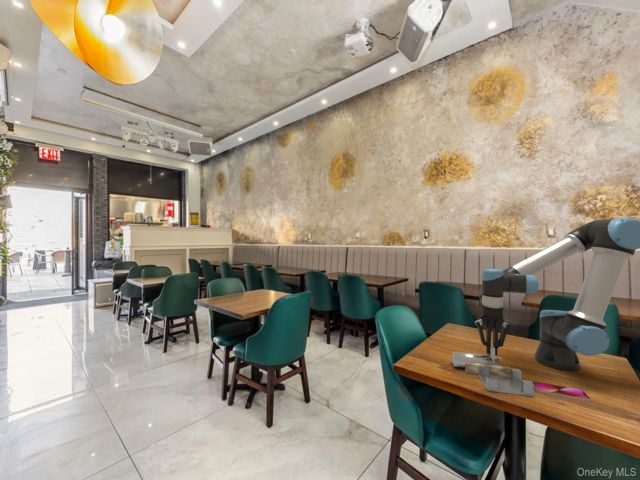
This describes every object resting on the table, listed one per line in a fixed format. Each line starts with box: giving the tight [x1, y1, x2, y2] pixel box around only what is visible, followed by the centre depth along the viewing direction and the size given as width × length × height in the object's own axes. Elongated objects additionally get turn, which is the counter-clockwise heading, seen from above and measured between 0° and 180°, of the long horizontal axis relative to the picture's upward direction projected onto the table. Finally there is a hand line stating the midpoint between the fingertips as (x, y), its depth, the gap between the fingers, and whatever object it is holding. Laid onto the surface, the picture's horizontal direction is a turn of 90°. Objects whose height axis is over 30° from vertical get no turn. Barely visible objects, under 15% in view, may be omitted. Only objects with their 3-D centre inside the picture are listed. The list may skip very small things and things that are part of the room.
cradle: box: [478, 365, 534, 398], centre depth 102 cm, size 14×11×4 cm
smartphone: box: [531, 381, 591, 402], centre depth 98 cm, size 7×1×15 cm
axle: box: [451, 351, 493, 369], centre depth 116 cm, size 14×6×6 cm, turn 75°
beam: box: [463, 356, 511, 377], centre depth 115 cm, size 16×12×4 cm
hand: (491, 362), depth 115 cm, fingers closed
